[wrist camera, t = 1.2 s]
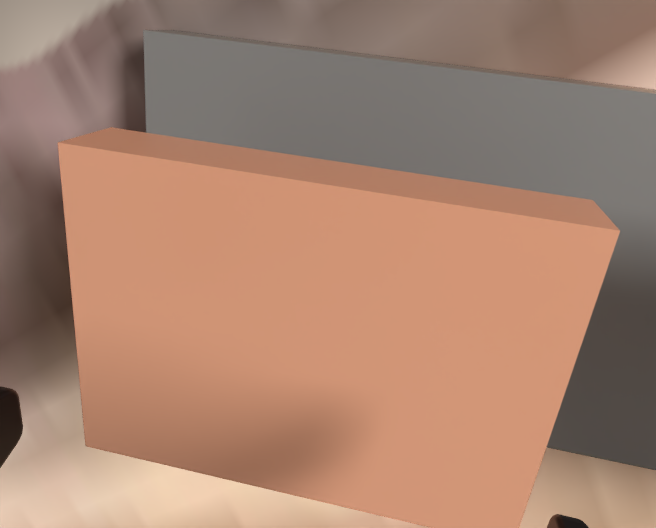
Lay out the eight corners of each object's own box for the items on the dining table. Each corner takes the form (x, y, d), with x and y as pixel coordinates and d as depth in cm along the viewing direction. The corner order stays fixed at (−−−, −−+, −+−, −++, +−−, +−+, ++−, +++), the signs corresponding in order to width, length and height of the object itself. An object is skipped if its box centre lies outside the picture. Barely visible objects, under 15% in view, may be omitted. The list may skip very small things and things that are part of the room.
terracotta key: (499, 446, 16) (512, 546, 13) (150, 372, 18) (85, 446, 15) (577, 182, 13) (620, 230, 10) (142, 118, 14) (57, 142, 11)
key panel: (984, 502, 19) (1040, 551, 17) (175, 338, 23) (152, 364, 21) (1253, 163, 14) (1370, 182, 13) (172, 29, 18) (143, 29, 17)
